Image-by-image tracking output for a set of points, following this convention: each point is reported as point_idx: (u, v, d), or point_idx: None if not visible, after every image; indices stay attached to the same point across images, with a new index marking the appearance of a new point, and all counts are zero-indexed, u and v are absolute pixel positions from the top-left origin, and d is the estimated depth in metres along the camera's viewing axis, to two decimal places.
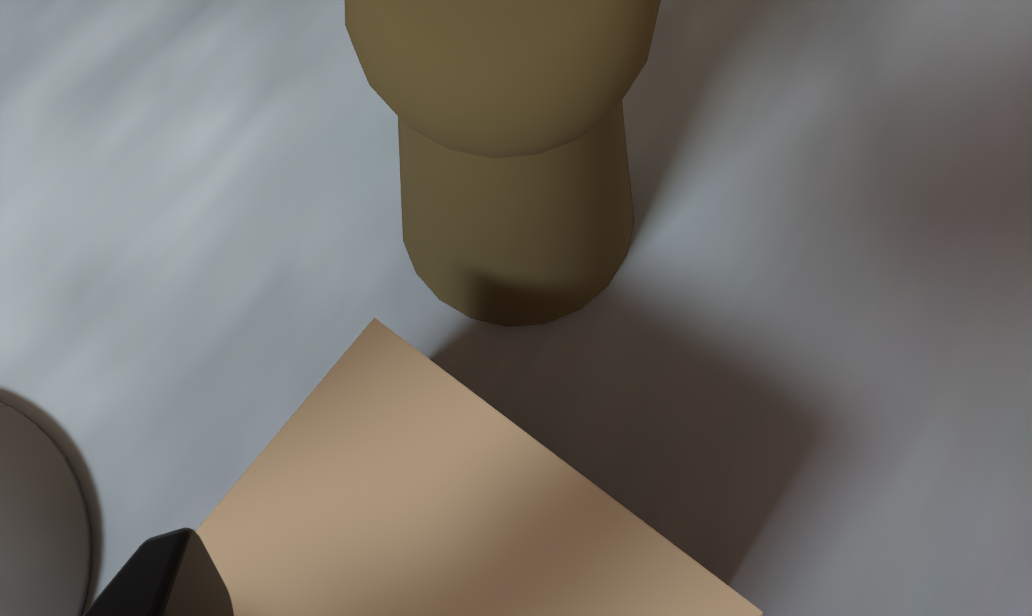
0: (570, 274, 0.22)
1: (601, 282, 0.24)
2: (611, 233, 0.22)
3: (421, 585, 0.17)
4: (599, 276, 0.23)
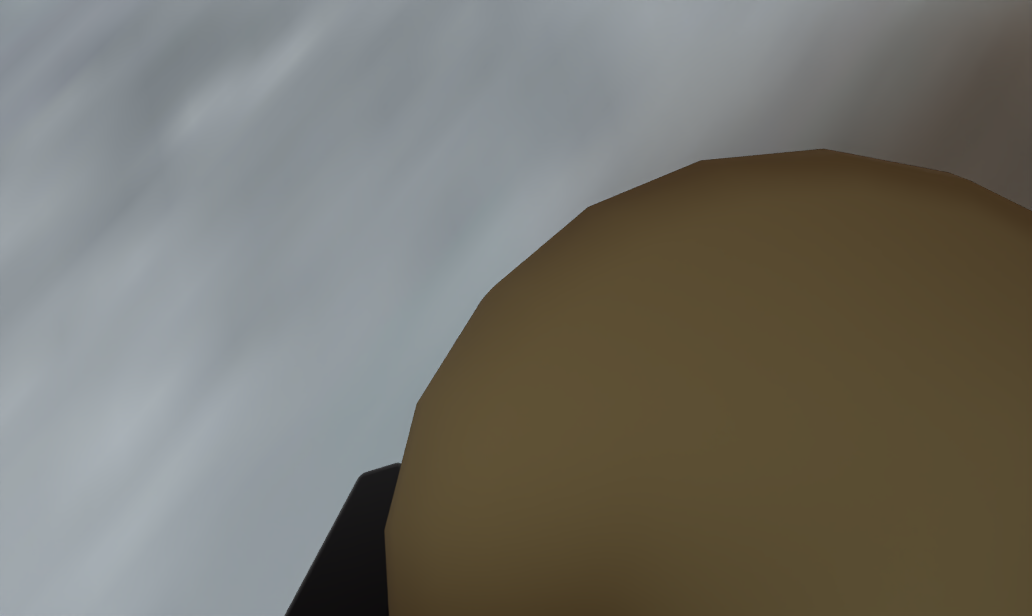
0: None
1: None
2: None
3: None
4: None
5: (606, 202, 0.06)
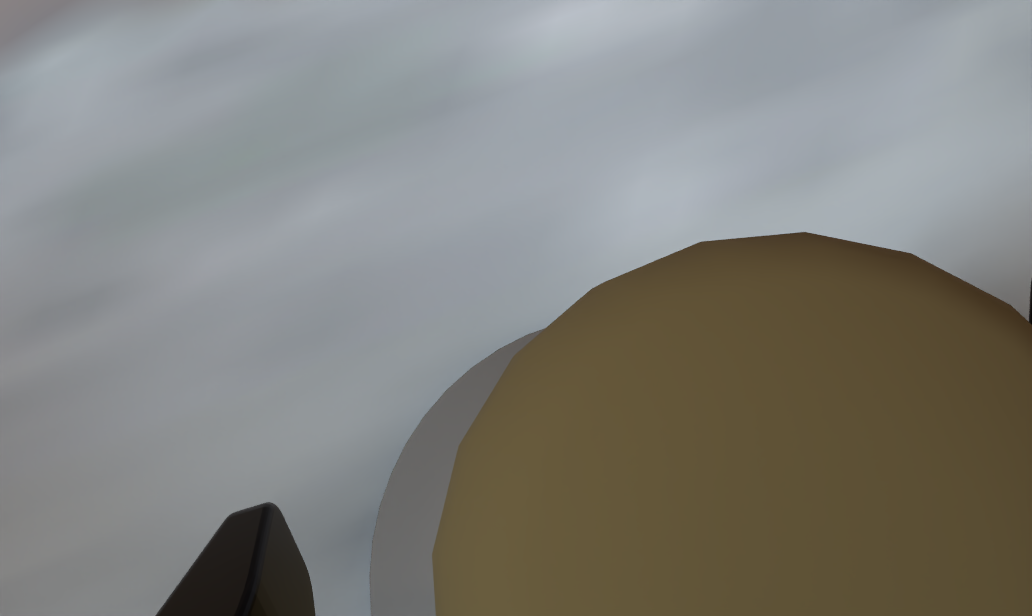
0: None
1: None
2: None
3: None
4: None
5: (621, 278, 0.07)
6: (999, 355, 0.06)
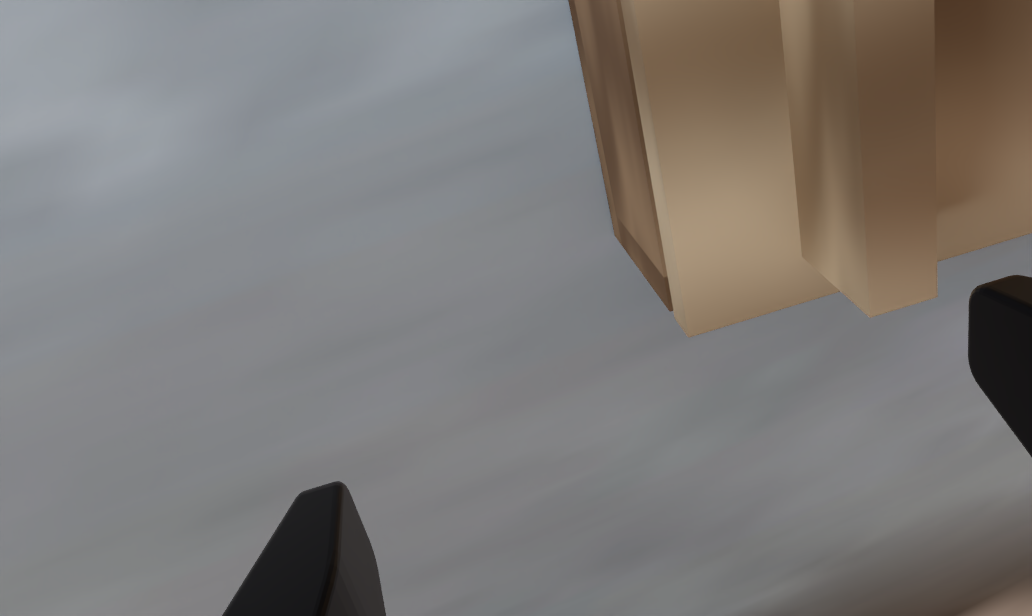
0: None
1: None
2: None
3: None
4: None
5: None
6: None
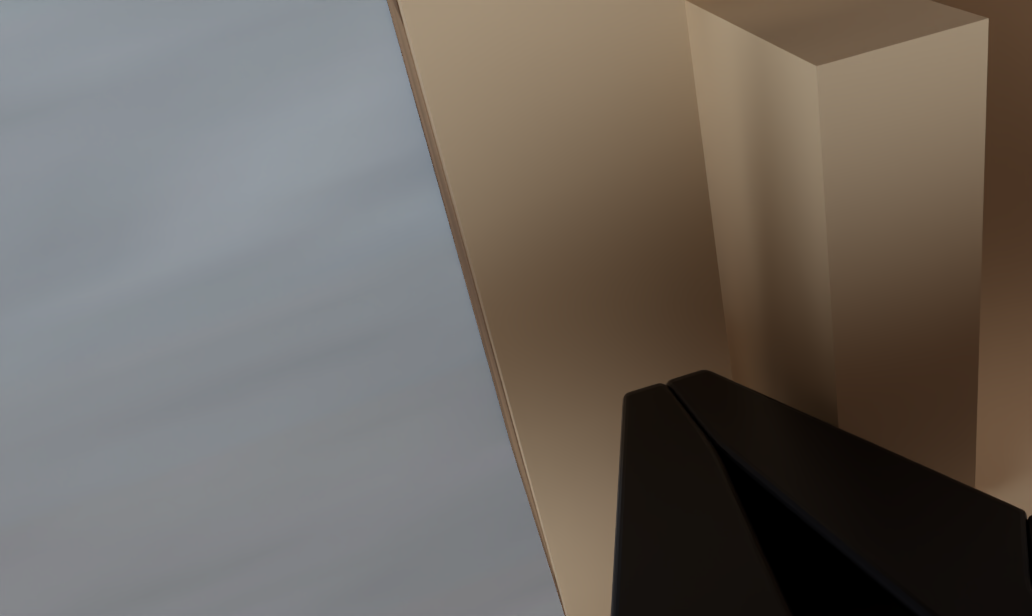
0: None
1: None
2: None
3: None
4: None
5: None
6: None
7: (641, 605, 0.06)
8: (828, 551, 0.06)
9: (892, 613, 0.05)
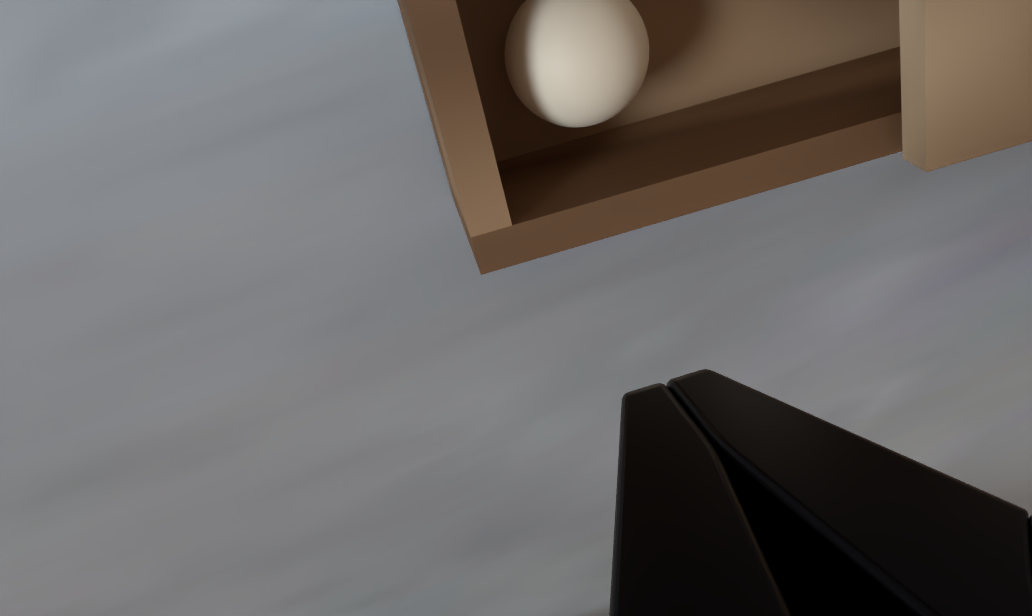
0: None
1: None
2: None
3: None
4: None
5: None
6: None
7: (639, 605, 0.06)
8: (830, 551, 0.06)
9: (894, 613, 0.05)
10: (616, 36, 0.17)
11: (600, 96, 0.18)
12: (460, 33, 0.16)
